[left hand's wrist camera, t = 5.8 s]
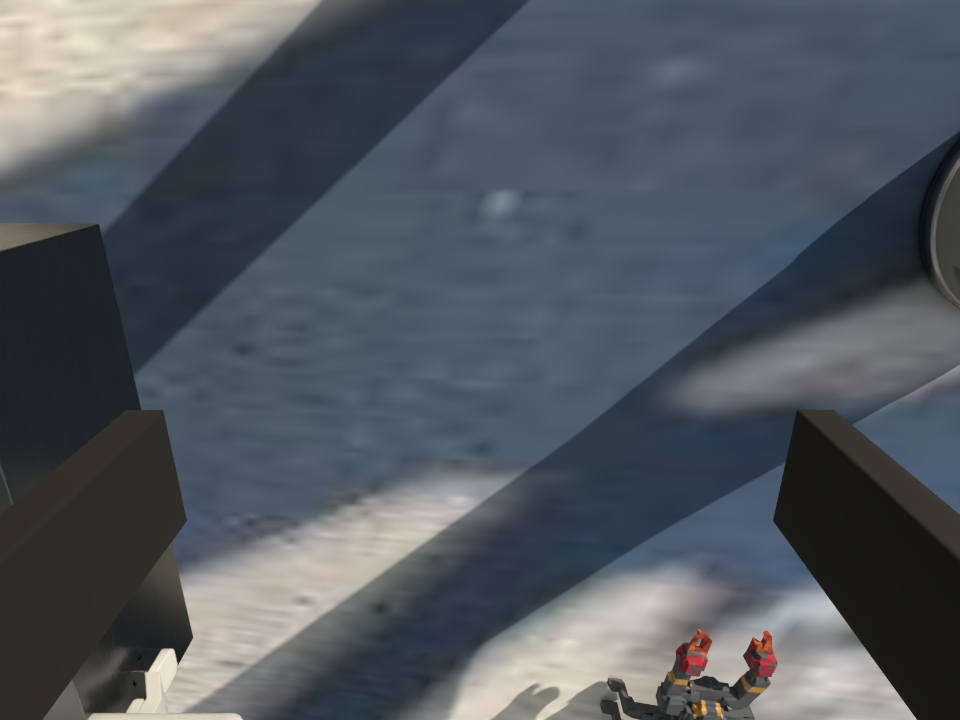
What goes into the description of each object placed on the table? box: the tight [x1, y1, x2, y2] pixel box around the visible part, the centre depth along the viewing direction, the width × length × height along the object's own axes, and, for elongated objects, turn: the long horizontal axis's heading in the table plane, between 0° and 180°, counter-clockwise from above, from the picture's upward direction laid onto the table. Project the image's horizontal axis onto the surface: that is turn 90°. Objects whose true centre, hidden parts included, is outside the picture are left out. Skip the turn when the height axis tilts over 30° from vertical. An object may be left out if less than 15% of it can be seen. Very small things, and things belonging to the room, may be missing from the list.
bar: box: [0, 224, 193, 720], centre depth 30 cm, size 26×5×10 cm, turn 0°
